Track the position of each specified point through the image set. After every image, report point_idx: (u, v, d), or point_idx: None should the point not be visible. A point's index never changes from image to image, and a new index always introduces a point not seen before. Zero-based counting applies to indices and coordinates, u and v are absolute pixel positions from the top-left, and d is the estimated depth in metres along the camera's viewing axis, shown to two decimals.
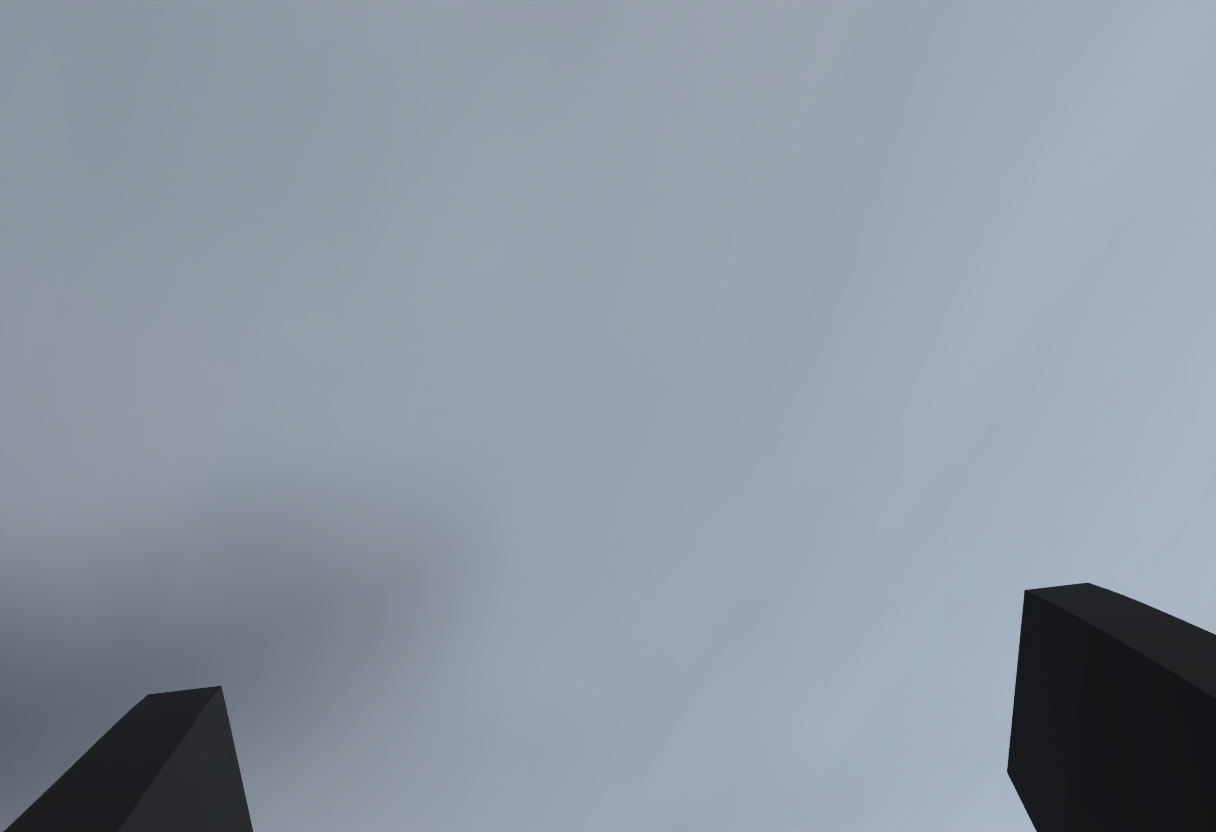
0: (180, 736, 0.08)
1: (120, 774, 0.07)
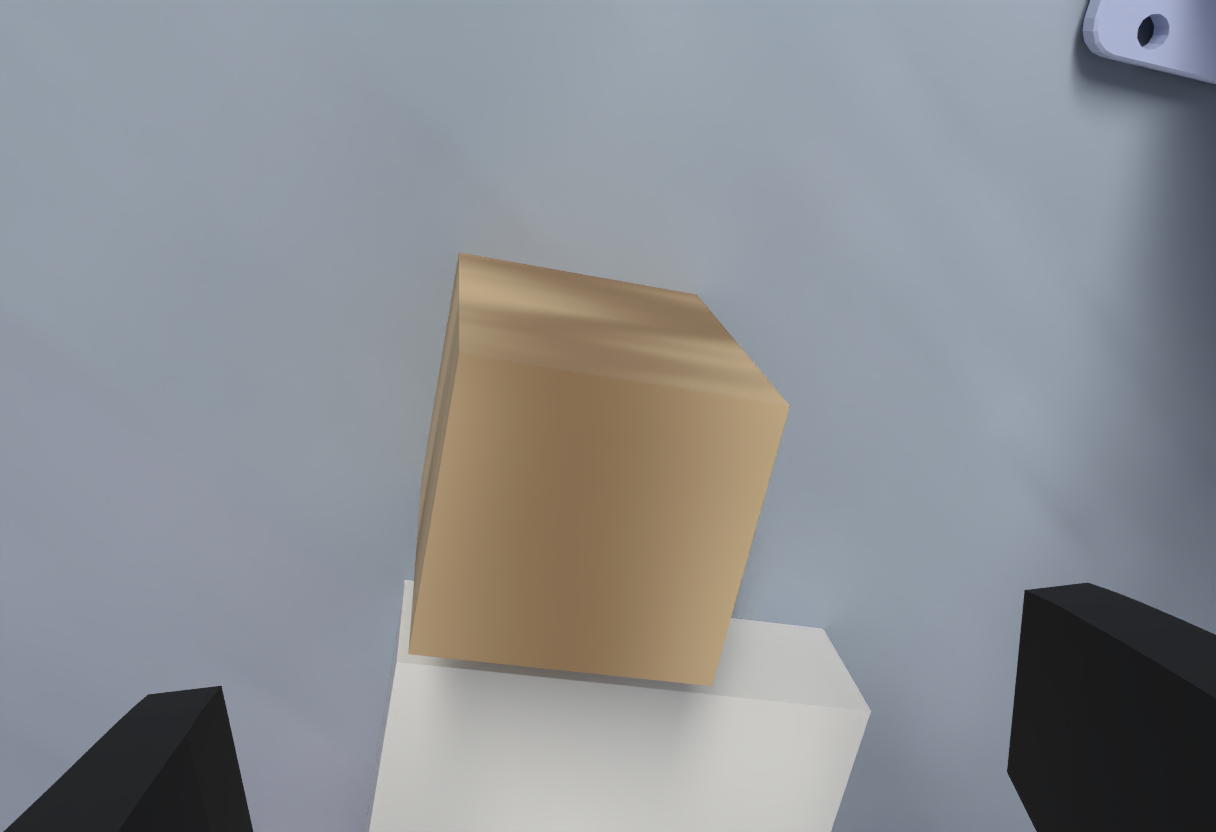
0: (180, 736, 0.08)
1: (120, 774, 0.07)
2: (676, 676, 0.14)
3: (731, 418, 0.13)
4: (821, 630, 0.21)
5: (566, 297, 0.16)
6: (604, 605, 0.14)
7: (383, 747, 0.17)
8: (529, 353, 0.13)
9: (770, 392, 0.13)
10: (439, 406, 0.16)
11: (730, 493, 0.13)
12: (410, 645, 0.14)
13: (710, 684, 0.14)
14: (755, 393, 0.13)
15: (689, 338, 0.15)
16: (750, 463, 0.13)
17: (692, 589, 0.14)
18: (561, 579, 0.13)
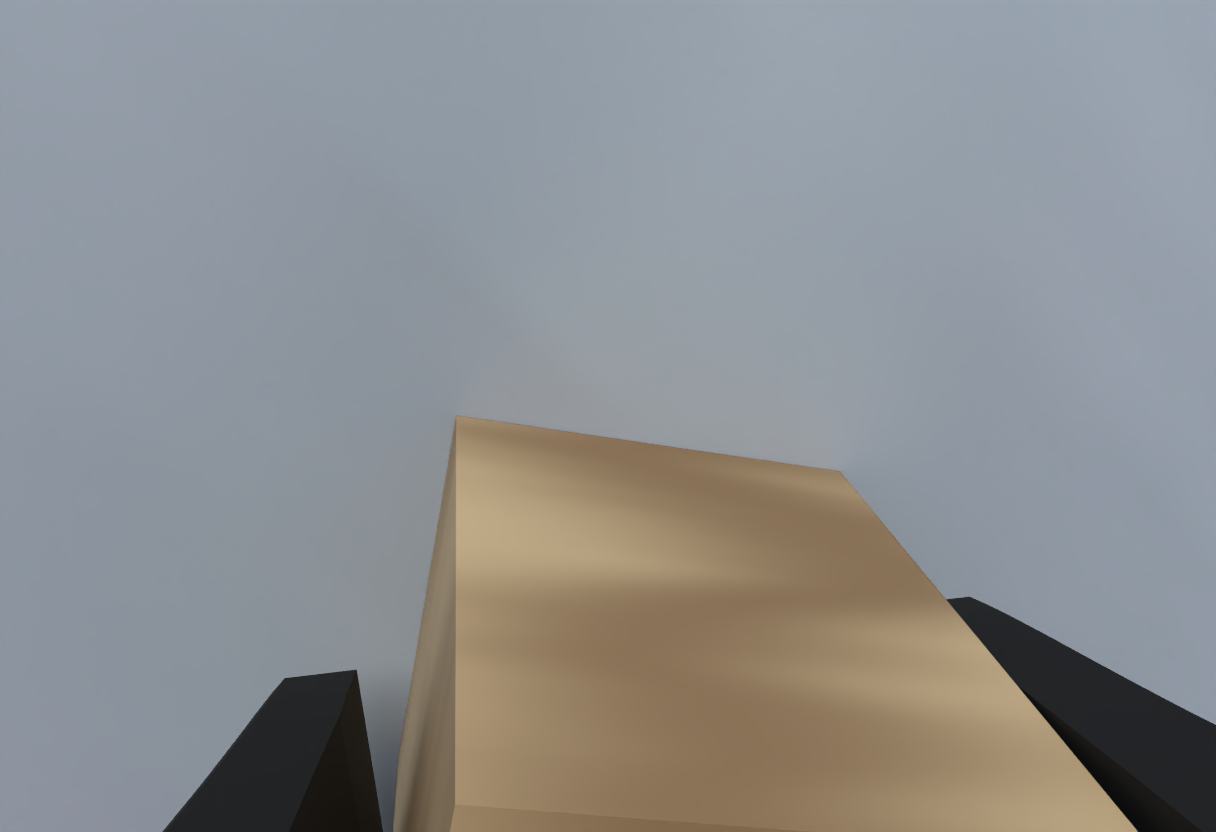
0: (333, 717, 0.08)
1: (284, 753, 0.08)
2: None
3: None
4: None
5: (646, 522, 0.09)
6: None
7: None
8: (606, 755, 0.06)
9: (1099, 804, 0.06)
10: (421, 721, 0.09)
11: None
12: None
13: None
14: (1076, 814, 0.06)
15: (879, 617, 0.08)
16: None
17: None
18: None
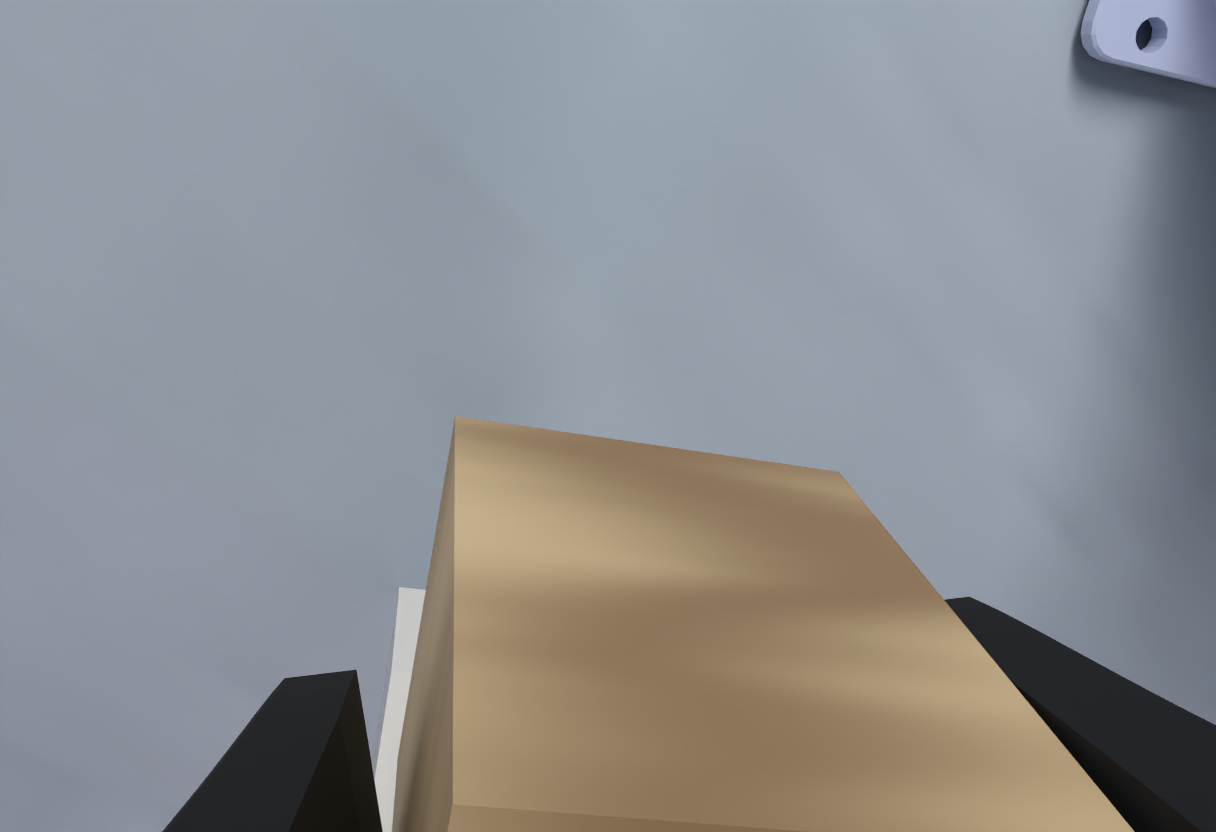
0: (333, 717, 0.08)
1: (284, 753, 0.08)
2: None
3: None
4: None
5: (643, 523, 0.09)
6: None
7: (378, 757, 0.17)
8: (604, 757, 0.06)
9: (1095, 804, 0.06)
10: (420, 721, 0.09)
11: None
12: None
13: None
14: (1074, 815, 0.06)
15: (877, 617, 0.08)
16: None
17: None
18: None
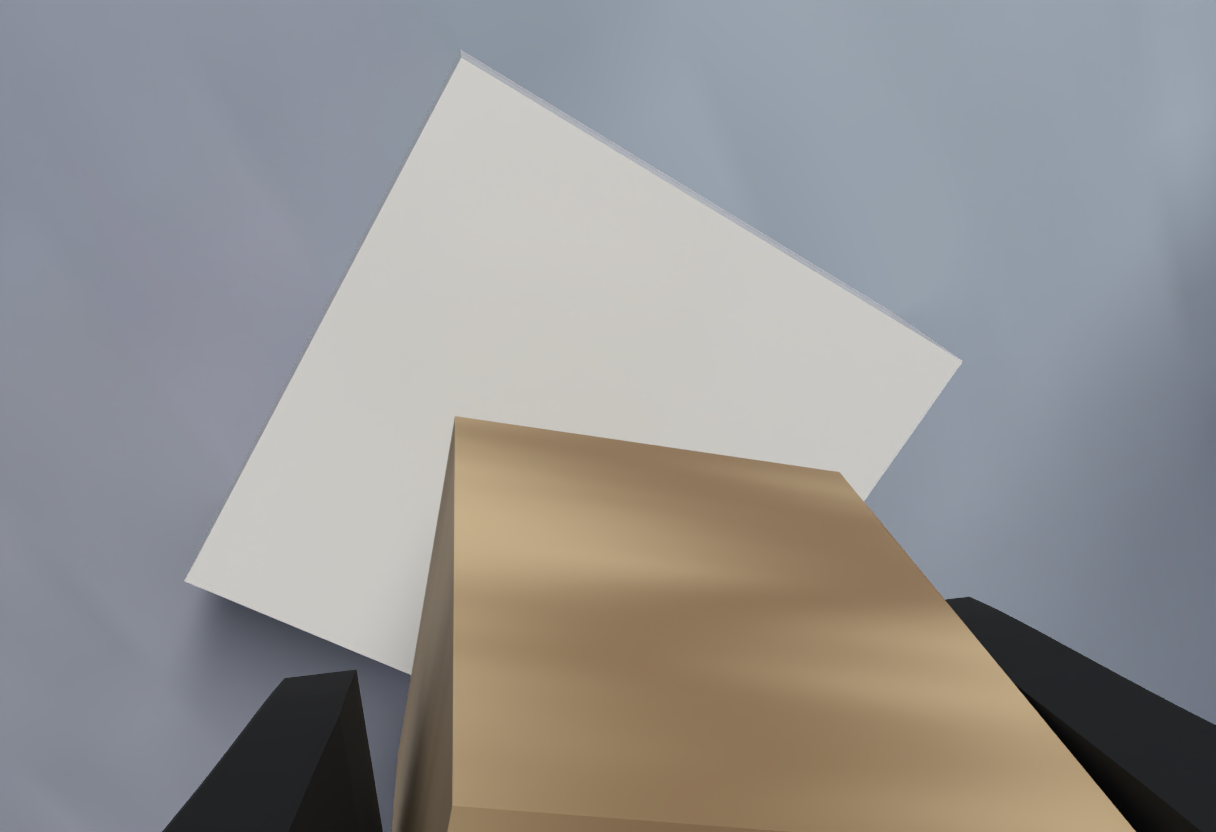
0: (333, 717, 0.08)
1: (284, 753, 0.08)
2: None
3: None
4: (892, 312, 0.18)
5: (645, 522, 0.09)
6: None
7: (399, 176, 0.13)
8: (604, 757, 0.06)
9: (1097, 806, 0.06)
10: (420, 722, 0.09)
11: None
12: None
13: None
14: (1076, 817, 0.06)
15: (878, 618, 0.08)
16: None
17: None
18: None
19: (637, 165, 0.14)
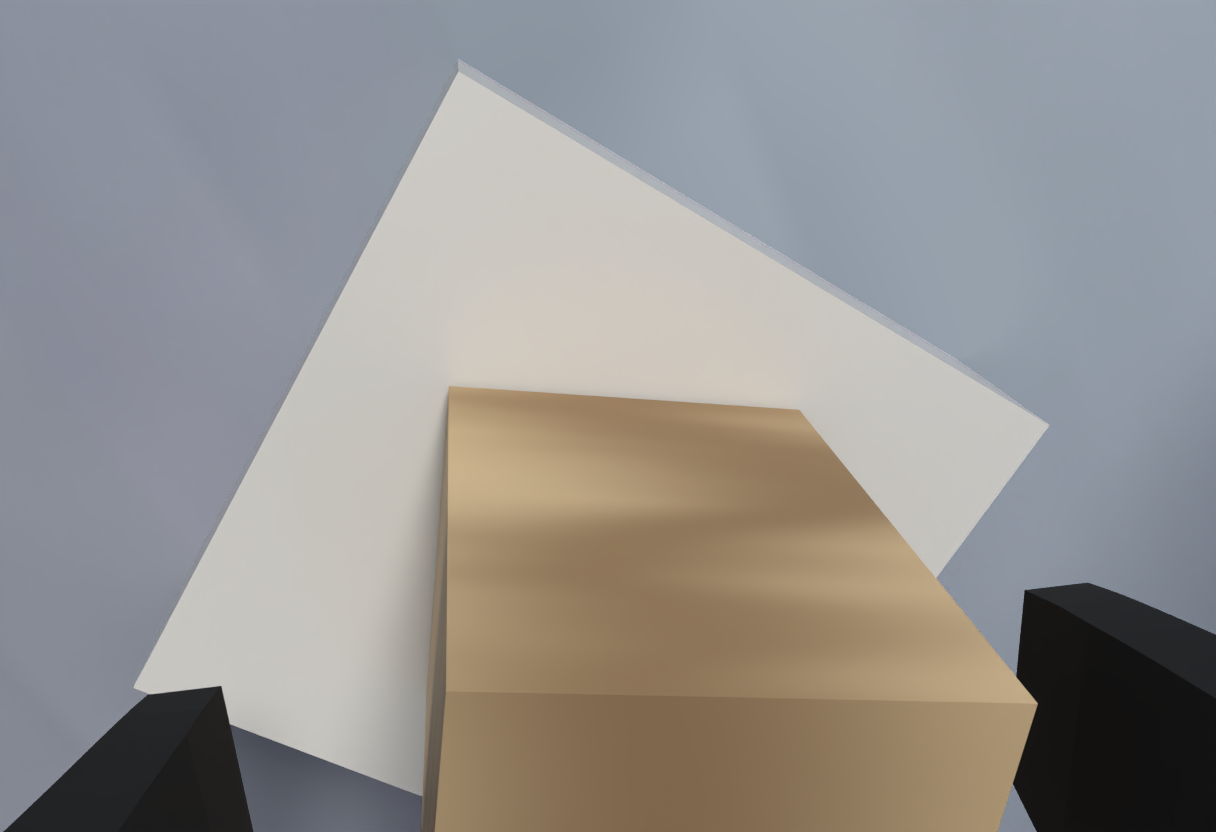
0: (180, 736, 0.08)
1: (120, 774, 0.07)
2: None
3: (937, 734, 0.07)
4: None
5: (616, 465, 0.10)
6: None
7: (384, 215, 0.11)
8: (572, 652, 0.07)
9: (992, 666, 0.08)
10: (435, 651, 0.10)
11: None
12: None
13: None
14: (970, 674, 0.08)
15: (819, 530, 0.09)
16: (970, 796, 0.08)
17: None
18: None
19: (670, 199, 0.11)
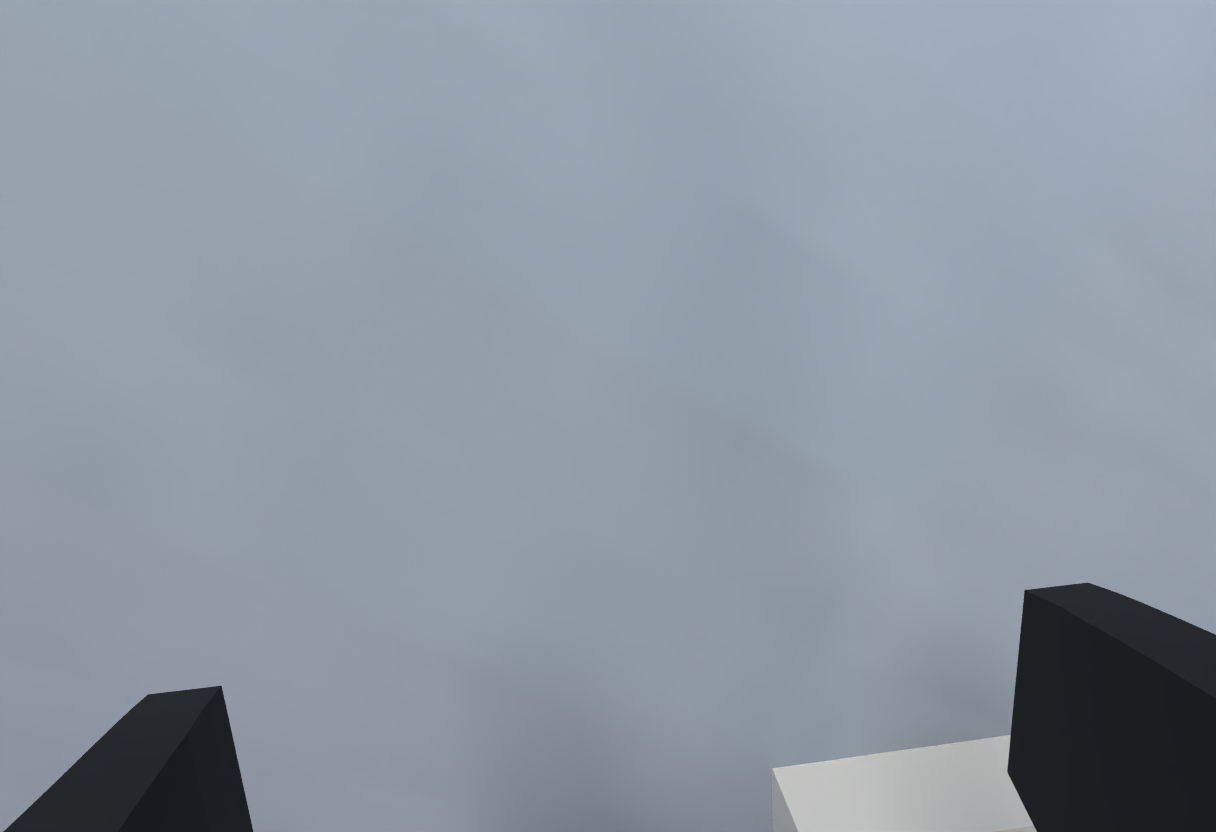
0: (180, 736, 0.08)
1: (120, 774, 0.07)
2: None
3: None
4: None
5: None
6: None
7: None
8: None
9: None
10: None
11: None
12: None
13: None
14: None
15: None
16: None
17: None
18: None
19: None
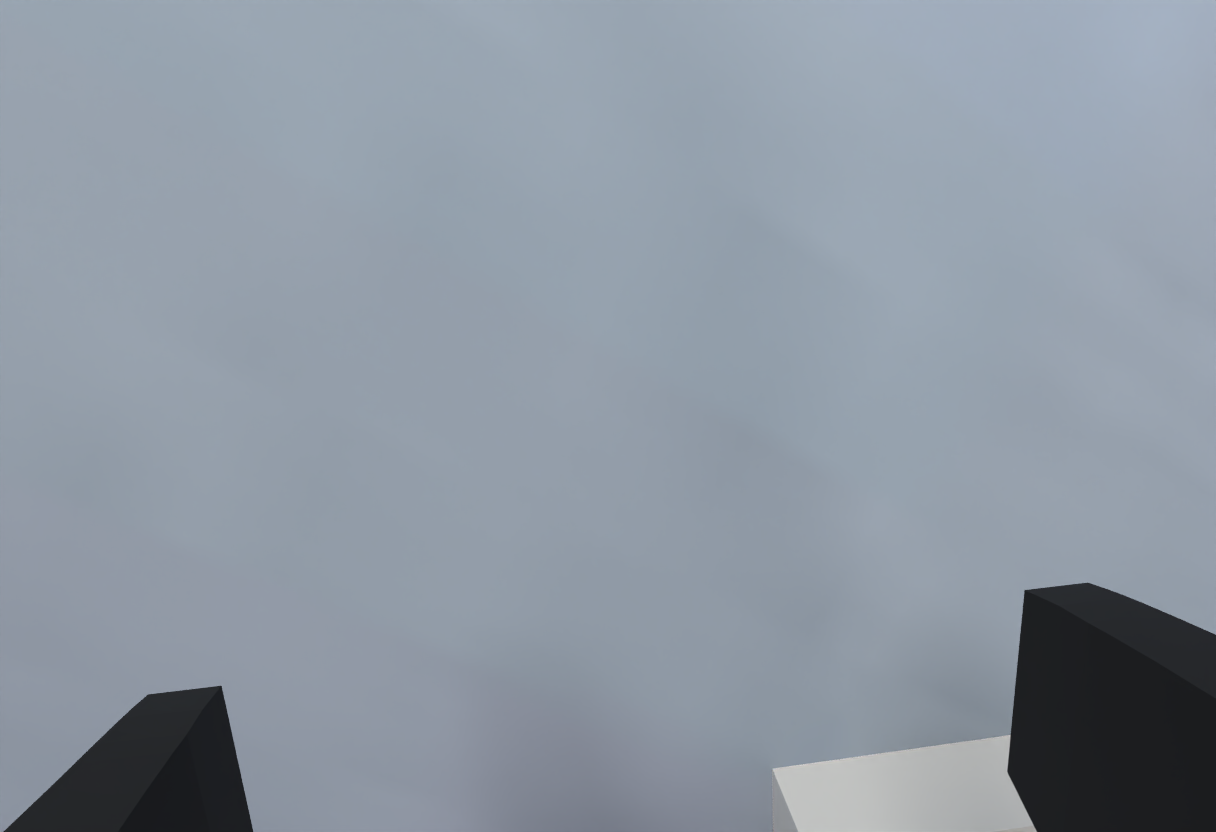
0: (180, 736, 0.08)
1: (120, 774, 0.07)
2: None
3: None
4: None
5: None
6: None
7: None
8: None
9: None
10: None
11: None
12: None
13: None
14: None
15: None
16: None
17: None
18: None
19: None
